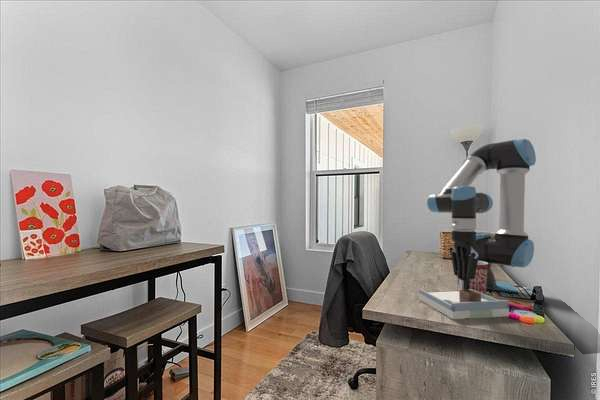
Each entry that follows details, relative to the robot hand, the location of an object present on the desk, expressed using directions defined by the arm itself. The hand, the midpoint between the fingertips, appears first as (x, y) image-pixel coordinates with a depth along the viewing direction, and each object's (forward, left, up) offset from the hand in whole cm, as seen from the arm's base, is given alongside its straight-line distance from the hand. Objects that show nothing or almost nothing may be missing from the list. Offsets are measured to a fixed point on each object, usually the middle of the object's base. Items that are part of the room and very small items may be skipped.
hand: (464, 297), depth 102 cm
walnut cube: (0, +3, -2) cm, 3 cm away
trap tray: (0, -2, -4) cm, 5 cm away
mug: (-16, -15, -4) cm, 23 cm away
